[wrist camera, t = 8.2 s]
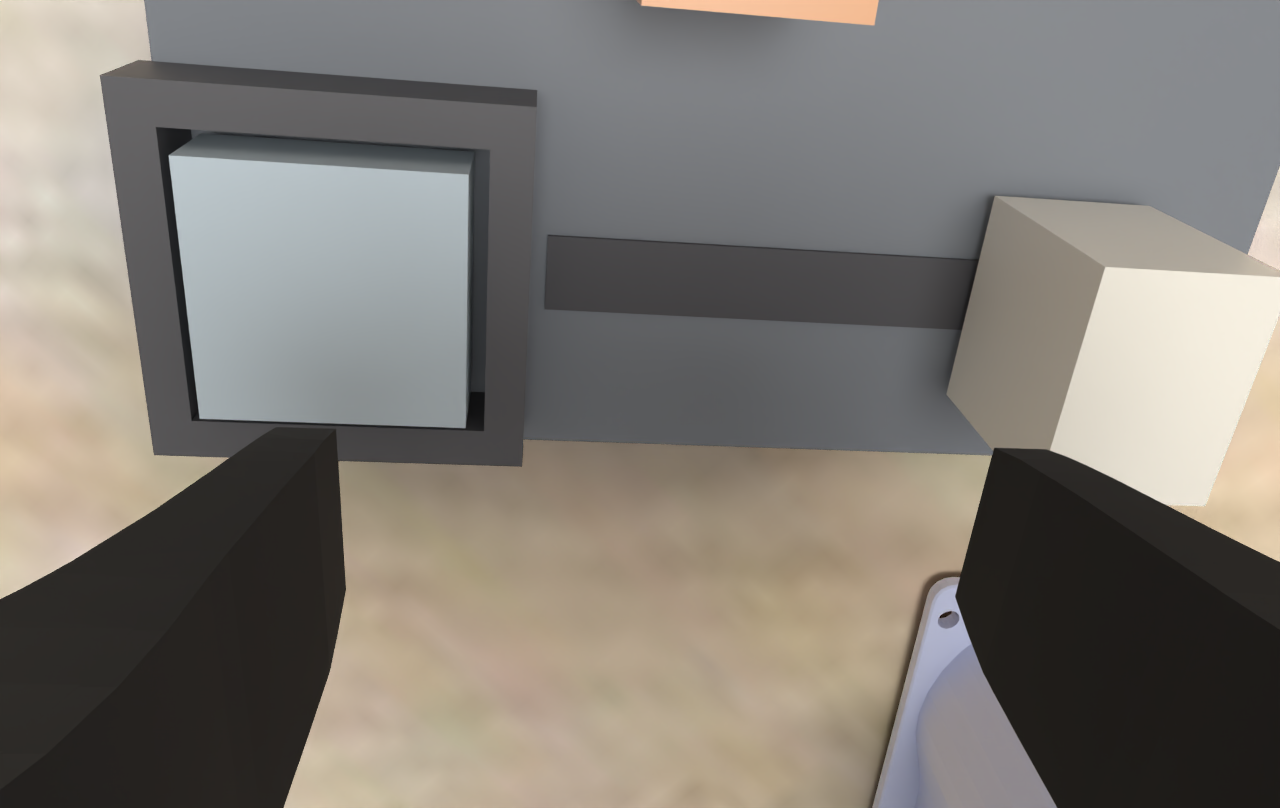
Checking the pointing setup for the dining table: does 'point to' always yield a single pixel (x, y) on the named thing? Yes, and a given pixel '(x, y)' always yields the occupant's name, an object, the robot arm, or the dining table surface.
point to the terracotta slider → (783, 8)
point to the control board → (703, 191)
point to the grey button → (327, 279)
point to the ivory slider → (1113, 341)
